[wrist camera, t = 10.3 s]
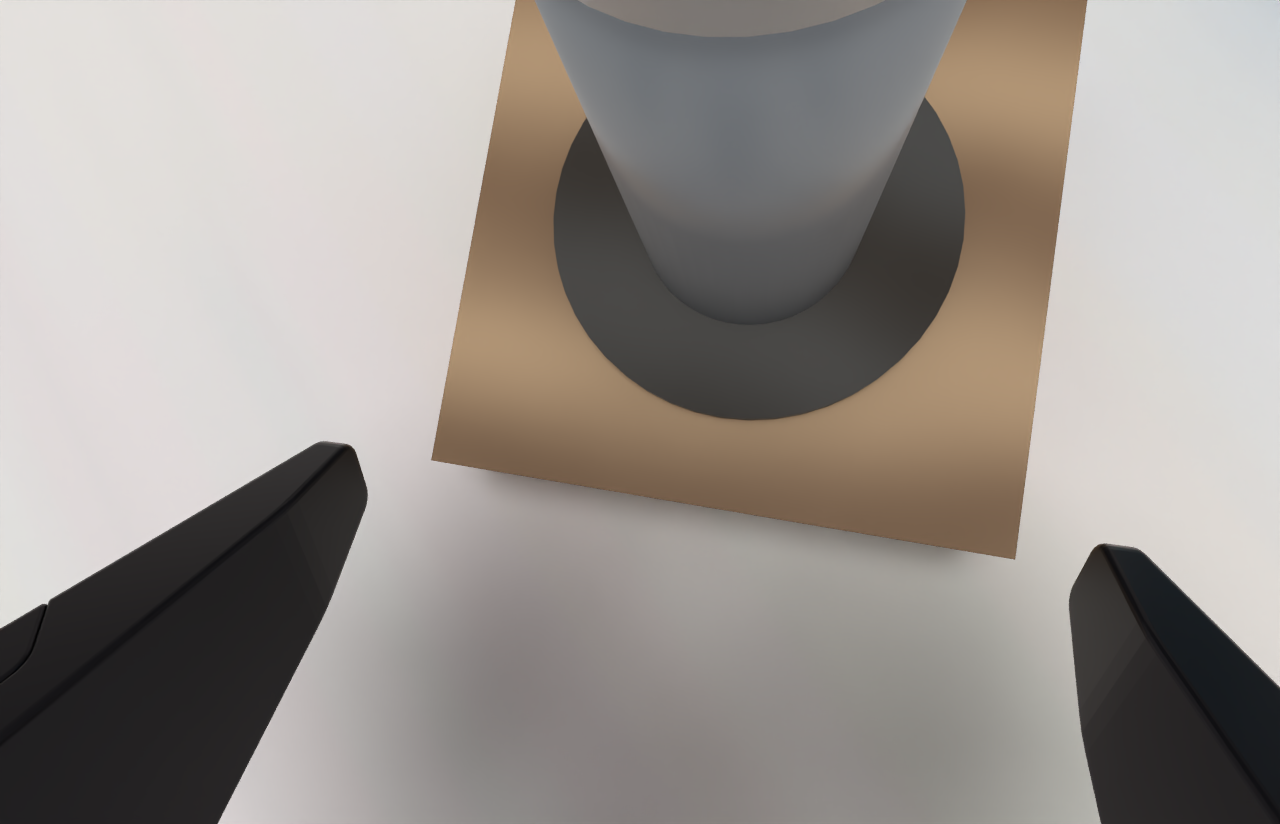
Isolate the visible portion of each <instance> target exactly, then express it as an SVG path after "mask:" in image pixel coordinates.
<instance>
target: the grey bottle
mask: <svg viewBox="0 0 1280 824" xmlns="http://www.w3.org/2000/svg"><path fill="white" fill-rule="evenodd" d="M966 1H967V0H535V2H536V5H537V7H538V9H539V11H540V14H541V16H542V18H543V20H544V23H545V25H546V27H547V29H548V32H549V34H550V36H551V38H552V41H553V43H554V45H555V47H556V50H557V52H558V54H559V56H560V58H561V61H562V63H563V65H564V67H565V70H566V72H567V74H568V76H569V79H570V81H571V83H572V85H573V88H574V90H575V92H576V94H577V97H578V99H579V101H580V103H581V106H582V108H583V110H584V112H585V115H586V117H587V119H588V121H589V124H590V126H591V128H592V130H593V133H594V135H595V137H596V139H597V142H598V144H599V146H600V148H601V151H602V153H603V155H604V157H605V160H606V162H607V164H608V166H609V169H610V171H611V173H612V175H613V178H614V180H615V182H616V184H617V187H618V189H619V191H620V193H621V196H622V198H623V200H624V202H625V205H626V207H627V209H628V211H629V214H630V216H631V218H632V220H633V223H634V225H635V227H636V229H637V232H638V234H639V236H640V238H641V241H642V243H643V245H644V247H645V250H646V252H647V254H648V256H649V258H650V261H651V263H652V265H653V267H654V269H655V271H656V273H657V274H658V276H659V277H660V279H661V280H662V282H663V283H664V285H665V286H666V287H667V288H668V289H669V290H670V291H671V293H672V294H673V295H674V296H676V297H677V298H678V299H679V300H680V301H681V302H683V303H684V304H685V305H687V306H688V307H690V308H692V309H693V310H695V311H696V312H699V313H701V314H703V315H705V316H707V317H710V318H713V319H716V320H719V321H722V322H728V323H733V324H746V325H754V324H766V323H771V322H775V321H780V320H783V319H786V318H789V317H792V316H794V315H796V314H798V313H800V312H802V311H804V310H806V309H808V308H809V307H811V306H812V305H814V304H815V303H817V302H818V301H820V300H821V299H822V298H823V297H824V296H825V295H827V294H828V293H829V292H830V291H831V290H832V289H833V288H834V287H835V285H836V284H837V283H838V282H839V281H840V280H841V278H842V277H843V275H844V274H845V272H846V271H847V269H848V268H849V266H850V264H851V262H852V260H853V258H854V256H855V253H856V251H857V249H858V246H859V244H860V242H861V240H862V237H863V235H864V233H865V231H866V228H867V226H868V224H869V221H870V219H871V217H872V215H873V212H874V210H875V208H876V206H877V203H878V201H879V199H880V196H881V194H882V192H883V190H884V187H885V185H886V183H887V181H888V178H889V176H890V174H891V171H892V169H893V167H894V165H895V162H896V160H897V158H898V156H899V153H900V151H901V149H902V146H903V144H904V142H905V140H906V137H907V135H908V133H909V131H910V128H911V126H912V124H913V121H914V119H915V117H916V115H917V112H918V110H919V108H920V106H921V103H922V101H923V99H924V96H925V94H926V92H927V90H928V87H929V85H930V83H931V81H932V78H933V76H934V74H935V71H936V69H937V67H938V65H939V62H940V60H941V58H942V55H943V53H944V51H945V49H946V46H947V44H948V42H949V40H950V37H951V35H952V33H953V30H954V28H955V26H956V24H957V21H958V19H959V17H960V15H961V12H962V10H963V8H964V5H965V3H966Z"/></svg>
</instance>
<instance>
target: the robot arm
mask: <svg viewBox="0 0 1280 824" xmlns="http://www.w3.org/2000/svg"><path fill="white" fill-rule="evenodd" d="M367 498H368V493H367V487H366V483H365V480H364V477H363V474H362V470H361V467H360V464H359V461H358V458H357V454H356V452H355V450H354V449H353V448H352V447H351V446H350V445H348V444H342V443H335V442H327V441H322V442H318V443H316V444H314V445H312V446H310V447H309V448H307V449H305V450H304V451H302V452H300V453H298V454H297V455H295V456H293V457H292V458H290V459H288V460H287V461H285V462H283V463H281V464H280V465H278V466H276V467H275V468H273V469H271V470H270V471H268V472H266V473H264V474H263V475H261V476H259V477H258V478H256V479H254V480H253V481H251V482H249V483H247V484H246V485H244V486H242V487H241V488H239V489H237V490H236V491H234V492H232V493H230V494H229V495H227V496H225V497H224V498H222V499H220V500H219V501H217V502H215V503H213V504H212V505H210V506H208V507H207V508H205V509H203V510H202V511H200V512H198V513H196V514H195V515H193V516H191V517H190V518H188V519H186V520H185V521H183V522H181V523H179V524H178V525H176V526H174V527H173V528H171V529H169V530H168V531H166V532H164V533H163V534H161V535H159V536H157V537H156V538H154V539H152V540H151V541H149V542H147V543H146V544H144V545H142V546H140V547H139V548H137V549H135V550H134V551H132V552H130V553H129V554H127V555H125V556H123V557H122V558H120V559H118V560H117V561H115V562H113V563H112V564H110V565H108V566H106V567H105V568H103V569H101V570H100V571H98V572H96V573H94V574H93V575H91V576H89V577H88V578H86V579H84V580H83V581H81V582H79V583H77V584H76V585H74V586H72V587H71V588H69V589H67V590H66V591H64V592H62V593H60V594H59V595H57V596H55V597H54V598H52V599H51V600H50V601H49V602H48V605H47V604H42V605H40V606H38V607H36V608H35V609H33V610H31V611H30V612H28V613H26V614H24V615H23V616H21V617H19V618H18V619H16V620H14V621H13V622H11V623H9V624H7V625H6V626H4V627H2V628H0V824H218V822H219V820H220V818H221V816H222V814H223V812H224V810H225V808H226V806H227V804H228V802H229V800H230V798H231V796H232V794H233V792H234V790H235V788H236V787H237V785H238V783H239V781H240V779H241V777H242V775H243V773H244V771H245V769H246V767H247V765H248V763H249V761H250V759H251V757H252V755H253V753H254V751H255V749H256V747H257V745H258V743H259V742H260V740H261V738H262V736H263V734H264V732H265V730H266V728H267V726H268V724H269V722H270V720H271V718H272V716H273V714H274V712H275V710H276V708H277V706H278V704H279V702H280V700H281V698H282V696H283V695H284V693H285V691H286V689H287V687H288V685H289V683H290V681H291V679H292V677H293V675H294V673H295V671H296V669H297V667H298V665H299V663H300V661H301V659H302V657H303V655H304V653H305V651H306V650H307V648H308V646H309V644H310V642H311V640H312V638H313V636H314V634H315V632H316V630H317V628H318V626H319V624H320V622H321V620H322V618H323V616H324V614H325V612H326V609H327V607H328V605H329V602H330V600H331V598H332V595H333V593H334V590H335V587H336V585H337V582H338V580H339V577H340V574H341V572H342V569H343V566H344V564H345V561H346V558H347V556H348V553H349V550H350V548H351V545H352V543H353V540H354V537H355V535H356V532H357V529H358V527H359V524H360V521H361V519H362V516H363V513H364V511H365V508H366V504H367ZM1069 613H1070V623H1071V634H1072V644H1073V655H1074V665H1075V675H1076V686H1077V696H1078V706H1079V716H1080V724H1081V732H1082V737H1083V742H1084V748H1085V753H1086V757H1087V762H1088V767H1089V771H1090V776H1091V780H1092V785H1093V789H1094V794H1095V798H1096V803H1097V807H1098V812H1099V816H1100V821H1101V824H1280V687H1279V686H1278V685H1277V684H1276V683H1275V682H1274V681H1273V680H1272V679H1271V678H1270V677H1269V676H1268V675H1267V674H1266V673H1265V672H1264V671H1263V670H1262V669H1261V668H1260V667H1259V666H1258V665H1257V664H1256V663H1255V662H1254V661H1253V660H1252V659H1251V658H1250V657H1249V656H1248V655H1247V654H1246V653H1245V652H1244V651H1243V650H1242V649H1241V648H1240V647H1239V646H1238V645H1237V644H1236V643H1235V642H1234V641H1233V640H1232V639H1231V638H1230V637H1229V636H1228V635H1227V634H1226V633H1225V632H1224V631H1223V630H1222V629H1221V628H1220V627H1219V626H1217V625H1216V624H1215V623H1214V622H1213V621H1212V620H1211V619H1210V618H1209V617H1208V616H1207V615H1206V614H1205V613H1204V612H1203V611H1202V610H1201V609H1200V608H1199V607H1198V606H1197V605H1196V604H1195V603H1194V602H1193V601H1192V600H1191V599H1190V598H1189V597H1188V596H1187V595H1186V594H1185V593H1184V592H1183V591H1182V590H1181V589H1180V588H1179V587H1178V586H1177V585H1176V584H1175V583H1174V582H1173V581H1172V580H1171V579H1170V578H1169V577H1168V576H1167V575H1166V574H1165V573H1164V572H1163V571H1162V570H1161V569H1160V568H1159V567H1158V566H1157V565H1156V564H1155V563H1154V562H1153V561H1152V560H1151V559H1150V558H1149V557H1148V556H1147V555H1146V554H1145V553H1143V552H1142V551H1141V550H1139V549H1137V548H1134V547H1128V546H1120V545H1112V544H1099V545H1097V546H1096V547H1095V548H1094V549H1093V550H1092V552H1091V553H1090V555H1089V557H1088V559H1087V561H1086V563H1085V565H1084V566H1083V568H1082V570H1081V572H1080V574H1079V576H1078V578H1077V579H1076V581H1075V583H1074V585H1073V587H1072V589H1071V593H1070V598H1069Z"/></svg>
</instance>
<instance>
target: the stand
mask: <svg viewBox="0 0 1280 824" xmlns="http://www.w3.org/2000/svg"><path fill="white" fill-rule="evenodd" d="M1086 6H1087V0H967V1H966V3H965V5H964V8H963V10H962V12H961V15H960V17H959V19H958V21H957V24H956V26H955V28H954V30H953V33H952V35H951V37H950V40H949V42H948V44H947V46H946V49H945V51H944V53H943V55H942V58H941V60H940V62H939V65H938V67H937V69H936V71H935V74H934V76H933V78H932V81H931V83H930V85H929V87H928V90H927V92H926V94H925V96H924V99H923V101H922V103H921V106H920V108H919V110H918V112H917V115H916V117H915V119H914V121H913V124H912V126H911V128H910V131H909V133H908V135H907V137H906V140H905V142H904V144H903V146H902V149H901V151H900V153H899V156H898V158H897V160H896V162H895V165H894V167H893V169H892V171H891V174H890V176H889V178H888V181H887V183H886V185H885V187H884V190H883V192H882V194H881V196H880V199H879V201H878V203H877V206H876V208H875V210H874V212H873V215H872V217H871V219H870V221H869V224H868V226H867V228H866V231H865V233H864V235H863V237H862V240H861V242H860V244H859V246H858V249H857V251H856V253H855V256H854V258H853V260H852V262H851V264H850V266H849V268H848V269H847V271H846V272H845V274H844V275H843V277H842V278H841V280H840V281H839V282H838V283H837V284H836V285H835V287H834V288H833V289H832V290H831V291H830V292H829V293H828V294H827V295H825V296H824V297H823V298H822V299H821V300H820V301H818V302H817V303H815V304H814V305H812V306H811V307H809V308H808V309H806V310H804V311H802V312H800V313H798V314H796V315H794V316H792V317H789V318H786V319H783V320H780V321H775V322H771V323H766V324H754V325H746V324H733V323H728V322H722V321H719V320H716V319H713V318H710V317H707V316H705V315H703V314H701V313H699V312H696V311H695V310H693V309H692V308H690V307H688V306H687V305H685V304H684V303H683V302H681V301H680V300H679V299H678V298H677V297H676V296H674V295H673V294H672V293H671V291H670V290H669V289H668V288H667V287H666V286H665V285H664V283H663V282H662V280H661V279H660V277H659V276H658V274H657V273H656V271H655V269H654V267H653V265H652V263H651V261H650V258H649V256H648V254H647V252H646V250H645V247H644V245H643V243H642V241H641V238H640V236H639V234H638V232H637V229H636V227H635V225H634V223H633V220H632V218H631V216H630V214H629V211H628V209H627V207H626V205H625V202H624V200H623V198H622V196H621V193H620V191H619V189H618V187H617V184H616V182H615V180H614V178H613V175H612V173H611V171H610V169H609V166H608V164H607V162H606V160H605V157H604V155H603V153H602V151H601V148H600V146H599V144H598V142H597V139H596V137H595V135H594V133H593V130H592V128H591V126H590V124H589V121H588V119H587V117H586V115H585V112H584V110H583V108H582V106H581V103H580V101H579V99H578V97H577V94H576V92H575V90H574V88H573V85H572V83H571V81H570V79H569V76H568V74H567V72H566V70H565V67H564V65H563V63H562V61H561V58H560V56H559V54H558V52H557V50H556V47H555V45H554V43H553V41H552V38H551V36H550V34H549V32H548V29H547V27H546V25H545V23H544V20H543V18H542V16H541V14H540V11H539V9H538V7H537V5H536V2H535V0H516V2H515V7H514V12H513V18H512V23H511V29H510V34H509V40H508V45H507V51H506V56H505V61H504V67H503V72H502V78H501V83H500V89H499V94H498V100H497V105H496V111H495V116H494V121H493V127H492V132H491V138H490V143H489V149H488V154H487V160H486V165H485V171H484V176H483V181H482V187H481V192H480V198H479V203H478V209H477V214H476V220H475V225H474V230H473V236H472V241H471V247H470V252H469V258H468V263H467V269H466V274H465V280H464V285H463V290H462V296H461V301H460V307H459V312H458V318H457V323H456V329H455V334H454V339H453V345H452V350H451V356H450V361H449V367H448V372H447V378H446V383H445V389H444V394H443V399H442V405H441V410H440V416H439V421H438V427H437V432H436V438H435V443H434V448H433V454H432V459H431V460H433V461H439V462H444V463H450V464H456V465H462V466H468V467H474V468H480V469H486V470H492V471H497V472H503V473H509V474H515V475H521V476H527V477H533V478H539V479H544V480H550V481H556V482H562V483H568V484H574V485H580V486H586V487H592V488H597V489H603V490H609V491H615V492H621V493H627V494H633V495H639V496H644V497H650V498H656V499H662V500H668V501H674V502H680V503H686V504H692V505H697V506H703V507H709V508H715V509H721V510H727V511H733V512H739V513H745V514H750V515H756V516H762V517H768V518H774V519H780V520H786V521H792V522H797V523H803V524H809V525H815V526H821V527H827V528H833V529H839V530H845V531H850V532H856V533H862V534H868V535H874V536H880V537H886V538H892V539H897V540H903V541H909V542H915V543H921V544H927V545H933V546H939V547H945V548H950V549H956V550H962V551H968V552H974V553H980V554H986V555H992V556H998V557H1003V558H1009V559H1015V556H1016V548H1017V540H1018V533H1019V525H1020V517H1021V509H1022V502H1023V494H1024V486H1025V478H1026V471H1027V463H1028V455H1029V447H1030V440H1031V432H1032V424H1033V416H1034V409H1035V401H1036V393H1037V385H1038V378H1039V370H1040V362H1041V354H1042V347H1043V339H1044V331H1045V323H1046V316H1047V308H1048V300H1049V292H1050V285H1051V277H1052V269H1053V261H1054V254H1055V246H1056V238H1057V230H1058V223H1059V215H1060V207H1061V199H1062V192H1063V184H1064V176H1065V168H1066V161H1067V153H1068V145H1069V137H1070V130H1071V122H1072V114H1073V106H1074V99H1075V91H1076V83H1077V75H1078V68H1079V60H1080V52H1081V44H1082V37H1083V29H1084V21H1085V13H1086Z"/></svg>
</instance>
